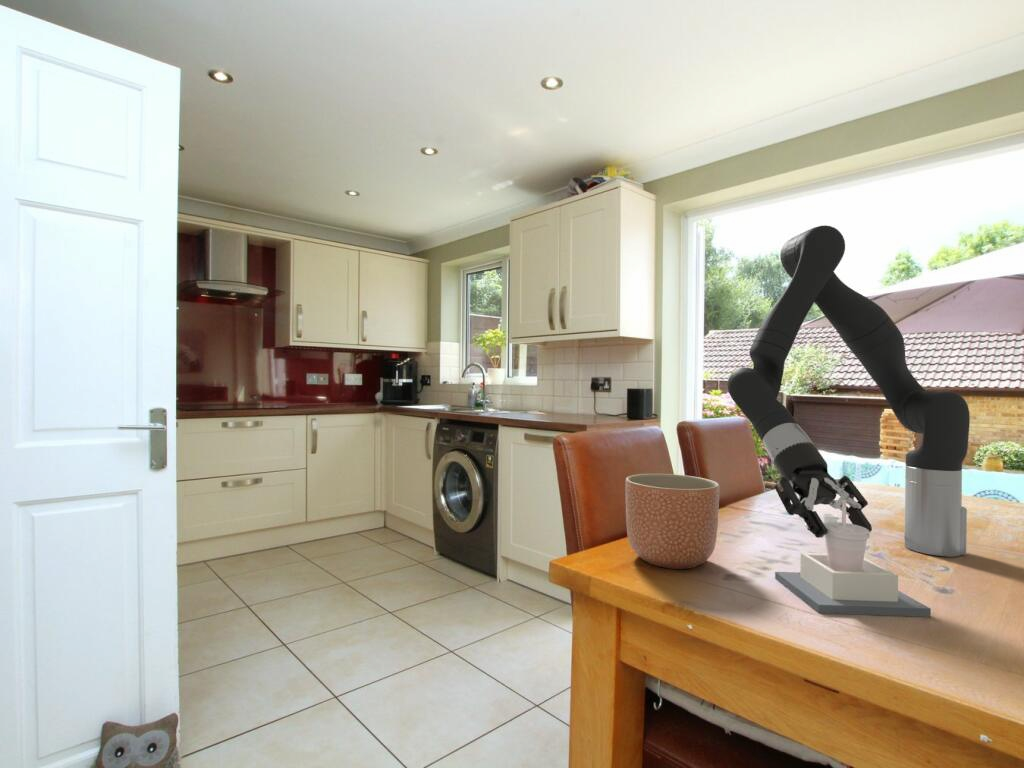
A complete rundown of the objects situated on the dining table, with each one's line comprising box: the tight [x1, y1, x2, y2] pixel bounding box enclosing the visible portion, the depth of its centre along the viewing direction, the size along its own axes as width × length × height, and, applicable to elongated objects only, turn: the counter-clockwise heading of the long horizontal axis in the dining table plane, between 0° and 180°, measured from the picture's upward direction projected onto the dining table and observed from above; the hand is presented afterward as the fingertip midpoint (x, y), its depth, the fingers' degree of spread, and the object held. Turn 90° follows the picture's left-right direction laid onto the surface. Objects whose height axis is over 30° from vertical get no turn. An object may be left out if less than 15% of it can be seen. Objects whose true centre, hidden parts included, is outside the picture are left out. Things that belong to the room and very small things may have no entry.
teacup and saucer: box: [804, 513, 842, 529], centre depth 125 cm, size 9×8×4 cm
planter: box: [625, 473, 720, 570], centre depth 100 cm, size 17×17×15 cm
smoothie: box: [824, 499, 871, 572], centre depth 84 cm, size 6×6×14 cm
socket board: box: [774, 552, 932, 618], centre depth 84 cm, size 16×14×5 cm
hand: (845, 534), depth 85 cm, fingers open, 8 cm apart
